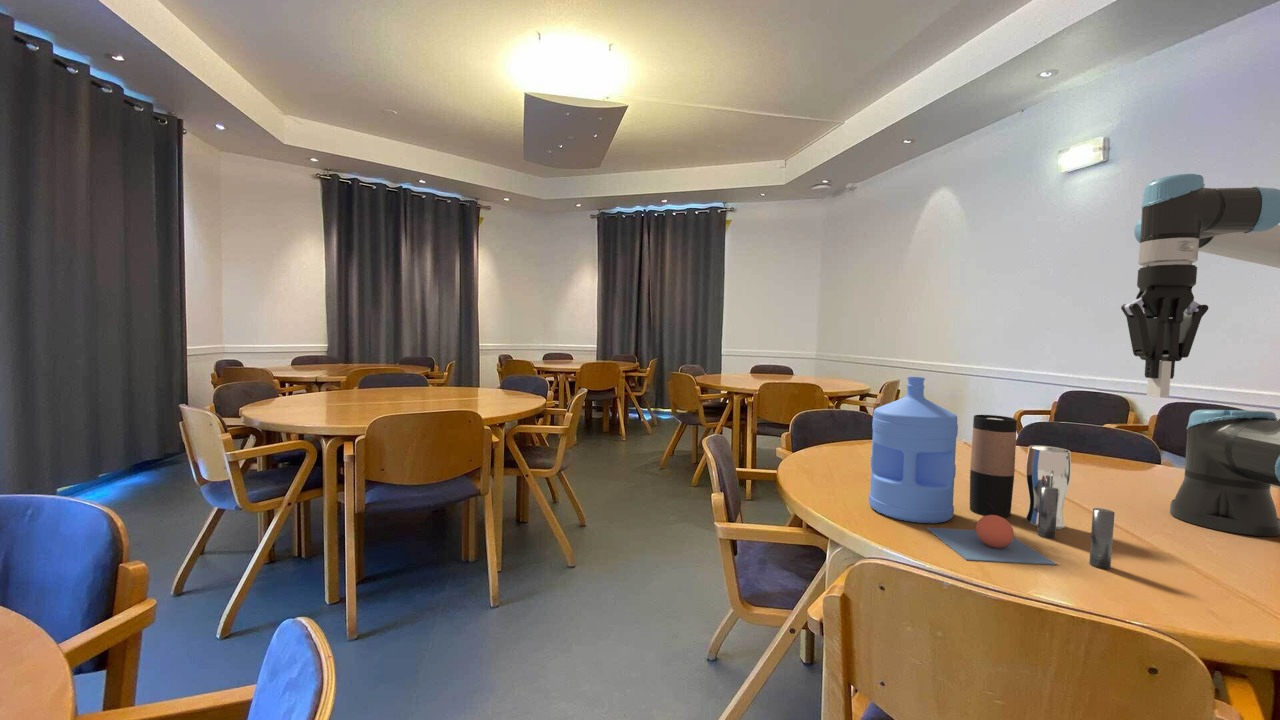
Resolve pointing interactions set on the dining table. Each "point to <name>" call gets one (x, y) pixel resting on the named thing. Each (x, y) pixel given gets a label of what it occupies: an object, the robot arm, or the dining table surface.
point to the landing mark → (988, 548)
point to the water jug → (913, 458)
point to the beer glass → (1047, 478)
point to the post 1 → (1047, 512)
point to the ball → (994, 531)
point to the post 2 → (1101, 538)
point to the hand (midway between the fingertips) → (1157, 396)
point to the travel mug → (992, 465)
